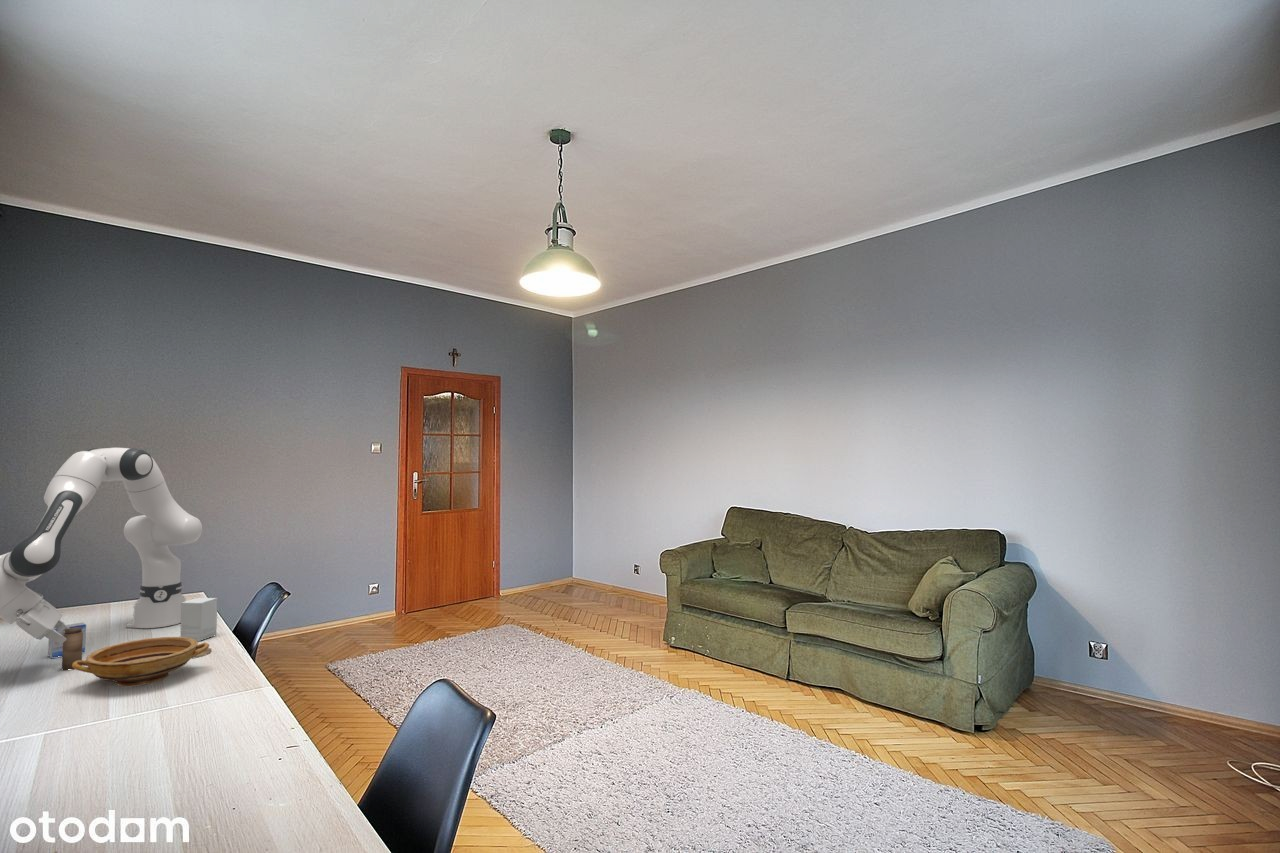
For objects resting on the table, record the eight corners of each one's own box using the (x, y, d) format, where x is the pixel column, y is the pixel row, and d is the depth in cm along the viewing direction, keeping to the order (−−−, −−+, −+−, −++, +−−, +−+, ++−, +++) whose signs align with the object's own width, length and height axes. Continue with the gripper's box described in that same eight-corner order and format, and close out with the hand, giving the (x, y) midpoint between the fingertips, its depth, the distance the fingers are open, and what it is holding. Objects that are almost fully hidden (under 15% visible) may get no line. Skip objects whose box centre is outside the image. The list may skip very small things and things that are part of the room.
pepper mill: (62, 667, 182) (64, 628, 182) (82, 664, 184) (84, 626, 185) (60, 671, 178) (62, 631, 179) (80, 668, 181) (82, 629, 181)
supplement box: (217, 635, 214) (218, 597, 215) (199, 641, 207) (201, 602, 208) (197, 634, 215) (198, 597, 216) (179, 641, 208) (180, 602, 208)
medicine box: (50, 659, 189) (52, 629, 189) (47, 656, 192) (48, 627, 192) (85, 652, 195) (86, 624, 196) (81, 649, 198) (82, 621, 198)
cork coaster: (171, 652, 196) (171, 650, 196) (210, 647, 201) (210, 645, 201) (171, 661, 187) (171, 659, 188) (211, 655, 193) (211, 653, 193)
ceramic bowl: (64, 705, 155) (66, 672, 155) (76, 676, 174) (77, 647, 175) (210, 680, 173) (211, 650, 173) (206, 657, 192) (207, 630, 192)
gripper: (25, 605, 169) (72, 636, 174) (39, 591, 185) (82, 620, 191) (0, 625, 166) (49, 656, 171) (17, 608, 183) (61, 637, 188)
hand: (67, 637), depth 181 cm, fingers open, 8 cm apart
